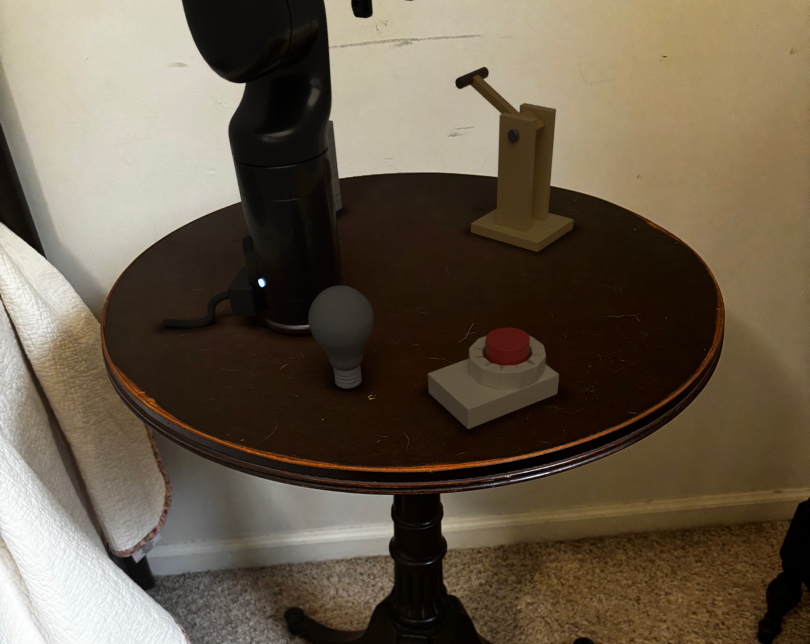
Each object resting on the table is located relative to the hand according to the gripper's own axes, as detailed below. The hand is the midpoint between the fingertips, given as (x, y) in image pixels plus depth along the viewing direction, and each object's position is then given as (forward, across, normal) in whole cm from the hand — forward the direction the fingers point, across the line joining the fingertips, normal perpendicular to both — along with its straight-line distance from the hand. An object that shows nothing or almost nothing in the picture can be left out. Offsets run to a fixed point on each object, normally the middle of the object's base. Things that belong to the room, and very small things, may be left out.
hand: (386, 8), depth 89 cm
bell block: (+24, +28, +32) cm, 49 cm away
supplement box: (+24, +5, -10) cm, 26 cm away
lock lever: (+11, -4, +12) cm, 17 cm away
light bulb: (+24, +34, +19) cm, 46 cm away
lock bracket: (+24, -4, +16) cm, 29 cm away
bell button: (+20, +27, +32) cm, 47 cm away
